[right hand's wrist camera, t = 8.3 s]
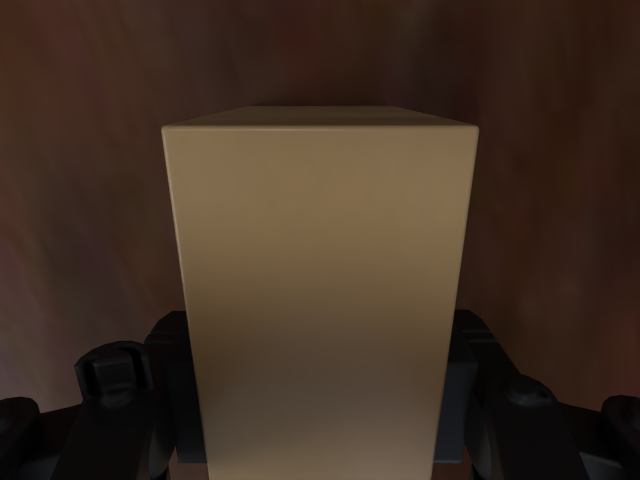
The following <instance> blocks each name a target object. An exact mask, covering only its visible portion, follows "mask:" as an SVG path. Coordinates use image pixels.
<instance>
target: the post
mask: <svg viewBox="0 0 640 480" xmlns="http://www.w3.org/2000/svg"><path fill="white" fill-rule="evenodd" d="M161 132H162V139H163V146H164V153H165V161H166V168H167V175H168V182H169V190H170V197H171V204H172V211H173V219H174V226H175V233H176V241H177V248H178V255H179V262H180V270H181V277H182V284H183V291H184V299H185V306H186V313H187V320H188V328H189V335H190V342H191V350H192V357H193V364H194V371H195V379H196V386H197V393H198V400H199V408H200V415H201V422H202V430H203V437H204V444H205V451H206V459H207V466H208V473H209V480H431V477H432V469H433V462H434V455H435V448H436V440H437V433H438V426H439V419H440V411H441V404H442V397H443V390H444V382H445V375H446V368H447V361H448V353H449V346H450V339H451V332H452V324H453V317H454V310H455V302H456V295H457V288H458V281H459V273H460V266H461V259H462V252H463V244H464V237H465V230H466V223H467V215H468V208H469V201H470V194H471V186H472V179H473V172H474V164H475V157H476V150H477V143H478V135H479V128H478V126H476V125H472V124H468V123H464V122H460V121H455V120H451V119H447V118H442V117H438V116H434V115H429V114H425V113H421V112H417V111H412V110H408V109H404V108H399V107H395V106H245V107H241V108H237V109H232V110H228V111H224V112H220V113H215V114H211V115H207V116H203V117H198V118H194V119H190V120H185V121H181V122H177V123H173V124H168V125H165V126H163V127H162V130H161Z"/></svg>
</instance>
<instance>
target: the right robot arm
mask: <svg viewBox="0 0 640 480" xmlns="http://www.w3.org/2000/svg"><path fill="white" fill-rule="evenodd" d="M74 367H75V371H76V374H77V378H78V382H79V386H80V389H81V393H82V397H83V402H82V404H79V405H75V406H72V407H68V408H63V409H59V410H54V411H50V412H45V413H41V414H40V410H39V407H38V404H37V403H36V402H35V401H34V400H33V399H31V398H26V397H14V398H6V399H3V400H0V480H171V479H170V471H169V466H168V463H169V460H170V458H171V455H172V453H173V450H174V448H175V446H176V450H177V456H178V462H179V463H207V459H206V451H205V444H204V437H203V430H202V422H201V415H200V408H199V400H198V393H197V386H196V379H195V371H194V364H193V357H192V350H191V342H190V335H189V328H188V320H187V313H186V311H172V312H170V313H169V314H167V315H166V316H164V317H163V318H162V319H160V320H159V321H158V322H157V324H156V325H155V326H154V328H153V329H152V331H151V333H150V334H149V335H148V336H147V338H146V339H145V341H144V344H141V343H138V342H134V341H117V342H113V343H108V344H105V345H102V346H100V347H98V348H95V349H93V350H91V351H90V352H88V353H87V354H85V355H84V356H82V357H81V358H80V359H79V360H78V362H77V363H76V364H75V365H74ZM465 445H466V448H467V450H468V453H469V455H470V458H471V460H472V466H471V471H470V477H469V480H640V398H637V397H632V396H625V395H617V396H611V397H609V398H608V399H606V400H605V401H604V402H603V405H602V409H601V412H598V411H594V410H589V409H585V408H580V407H576V406H571V405H567V404H564V403H560V402H558V401H557V399H556V397H555V396H554V395H553V393H552V392H551V390H550V389H548V388H547V387H546V386H545V385H543V384H542V383H541V382H539V381H537V380H535V379H533V378H531V377H529V376H526V375H522V374H520V373H519V371H518V370H517V369H516V367H515V366H514V364H513V363H512V361H511V360H510V359H509V357H508V356H507V354H506V353H505V351H504V350H503V349H502V347H501V346H500V344H499V343H497V340H496V339H495V337H494V336H493V334H492V333H490V330H489V329H488V327H487V326H486V324H485V323H484V322H483V320H482V319H481V318H479V317H478V316H476V315H475V314H473V313H472V312H471V311H469V310H454V317H453V324H452V332H451V339H450V346H449V353H448V361H447V368H446V375H445V382H444V390H443V397H442V404H441V411H440V419H439V426H438V433H437V440H436V448H435V455H434V462H433V463H462V458H463V452H464V446H465Z"/></svg>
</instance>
